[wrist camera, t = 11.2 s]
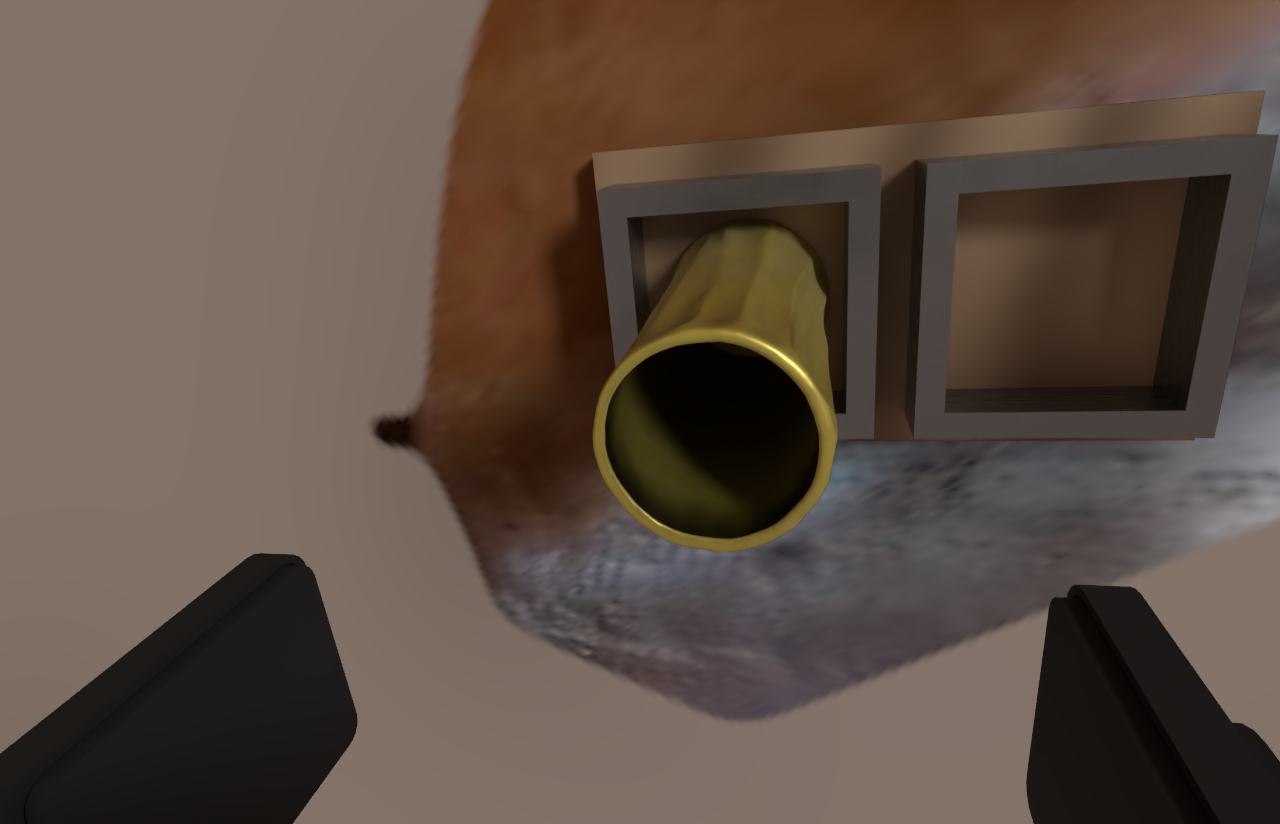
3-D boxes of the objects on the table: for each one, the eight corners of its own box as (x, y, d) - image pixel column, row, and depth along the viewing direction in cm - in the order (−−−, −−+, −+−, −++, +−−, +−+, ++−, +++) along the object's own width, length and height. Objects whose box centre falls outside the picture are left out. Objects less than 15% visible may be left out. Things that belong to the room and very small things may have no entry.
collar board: (1244, 92, 24) (1265, 90, 23) (1178, 427, 28) (1194, 440, 27) (600, 152, 28) (591, 153, 27) (629, 430, 33) (623, 441, 32)
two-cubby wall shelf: (1231, 133, 23) (1291, 135, 20) (1178, 410, 27) (1223, 445, 24) (613, 184, 28) (592, 192, 25) (636, 415, 31) (620, 445, 28)
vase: (759, 401, 30) (734, 616, 17) (641, 311, 29) (520, 460, 16) (862, 285, 27) (925, 431, 14) (734, 185, 27) (679, 242, 14)
